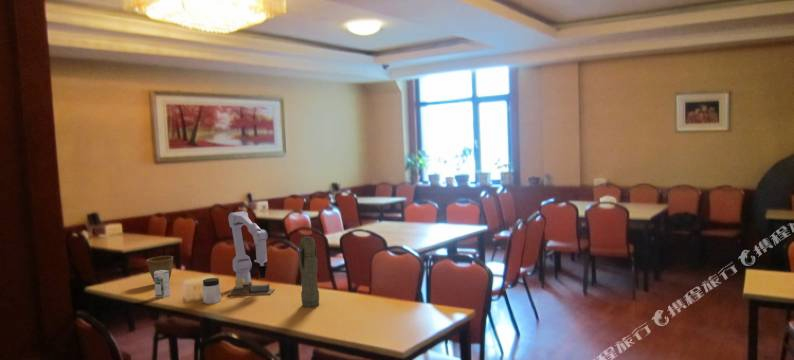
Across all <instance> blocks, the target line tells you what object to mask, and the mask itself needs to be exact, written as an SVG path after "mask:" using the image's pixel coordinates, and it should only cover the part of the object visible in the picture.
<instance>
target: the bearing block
mask: <svg viewBox="0 0 794 360" xmlns="http://www.w3.org/2000/svg"><path fill="white" fill-rule="evenodd" d="M252 283H253V282H252V281H249V282H245V283H244V284H243V290H234V287H233V288H232V289H231V290H230V292H229V293H228V294H226V297H248V296H249V295H253V296H271V295H272V294H274V292H275V289H276V288H270V290H269V291H268V292H267V291H260V292H249V285H253V284H252ZM249 297H250V296H249Z"/></svg>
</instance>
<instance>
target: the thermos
mask: <svg viewBox="0 0 794 360" xmlns="http://www.w3.org/2000/svg"><path fill="white" fill-rule="evenodd" d="M297 254H298V268H299V272H300V274H301V275H300V276H301V293H300V295H301V297H300V298H301V305H302V306H301V307H303V308H306V307H310V308H315V306H316V307H318V306H319V305H320V290H319V288H318V271H319V269H318V263H319V262H318V260H319V259H318V246H317V245H316V242H315V239H314V237H313V236H303V237H301V239H300V243H299V249H298V253H297ZM317 305H318V306H317Z"/></svg>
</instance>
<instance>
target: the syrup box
mask: <svg viewBox="0 0 794 360" xmlns="http://www.w3.org/2000/svg"><path fill="white" fill-rule="evenodd" d="M154 281H155V283H154V293H155V294H154V296H155V298H159V299H160V298H161V299H164V298H167V297H170V296H171V291H170V290H171V288H170V280H169V270H168V271H166V270H158V271H155V272H154ZM154 281H153V282H154Z"/></svg>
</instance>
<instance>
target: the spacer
mask: <svg viewBox="0 0 794 360" xmlns="http://www.w3.org/2000/svg"><path fill="white" fill-rule="evenodd" d="M234 280H235V281H234V282H235V286H236V287H243V284H244V283H245V279H244V278H237V277H236V279H234Z"/></svg>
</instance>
